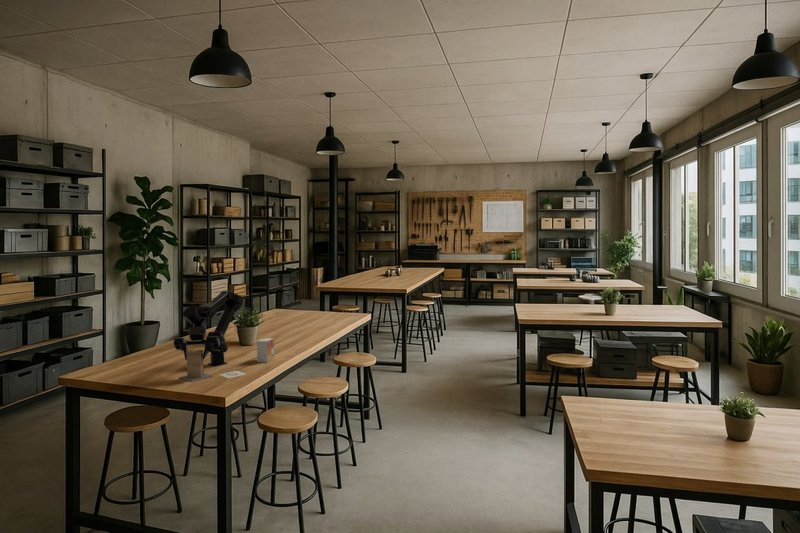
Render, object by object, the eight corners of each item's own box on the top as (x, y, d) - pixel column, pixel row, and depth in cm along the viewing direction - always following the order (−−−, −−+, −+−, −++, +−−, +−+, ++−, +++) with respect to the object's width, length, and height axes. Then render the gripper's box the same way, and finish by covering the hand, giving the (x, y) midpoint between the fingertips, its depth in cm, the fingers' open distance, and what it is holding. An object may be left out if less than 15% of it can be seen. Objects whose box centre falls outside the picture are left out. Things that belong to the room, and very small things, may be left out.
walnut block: (190, 374, 230) (189, 350, 228) (203, 373, 230) (202, 349, 229) (187, 378, 224) (186, 353, 223) (201, 377, 225) (200, 352, 224)
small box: (267, 362, 253) (267, 341, 253) (257, 362, 254) (256, 341, 254) (274, 358, 261) (274, 338, 260) (264, 358, 262) (263, 337, 262)
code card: (218, 374, 232) (218, 374, 232) (237, 371, 238) (237, 370, 238) (227, 378, 225) (227, 378, 225) (246, 374, 232) (246, 374, 232)
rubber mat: (178, 378, 226) (178, 377, 226) (199, 373, 234) (199, 372, 234) (192, 382, 220) (192, 380, 220) (212, 376, 228) (212, 375, 228)
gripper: (173, 319, 228) (167, 350, 218) (217, 318, 231) (214, 348, 221) (178, 334, 236) (173, 364, 226) (221, 332, 239) (218, 361, 229)
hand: (194, 359), depth 225 cm, fingers open, 7 cm apart
